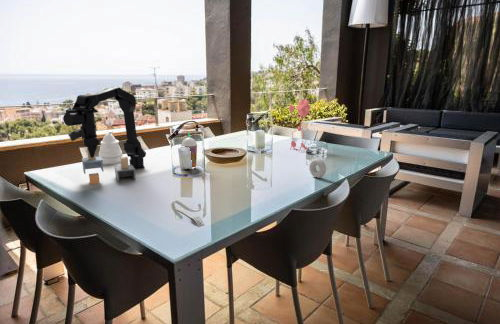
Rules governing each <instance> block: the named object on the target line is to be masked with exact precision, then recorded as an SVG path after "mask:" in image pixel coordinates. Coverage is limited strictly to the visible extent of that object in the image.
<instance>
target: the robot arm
mask: <svg viewBox="0 0 500 324" xmlns="http://www.w3.org/2000/svg"><path fill="white" fill-rule="evenodd" d="M112 98H113V99H114V100H115V101H117V102H118V105H119V108H120V109H121V111H122V112H123V118H124V127H125V132H126V133H125V134H126V140H125V142H123V147H124V148H123V150H124V152H125V153H126V155H127V156H126V157H127V158H129V157H130V159H128V162H129V165H133V167H134V168H135V170H137V169H145V165H144V158H145V157H146V156H147V152H146V151H145V150H144V148H142V145H141V141H139V139H138V136H137V129H136V121H135V119H136V118H135V113H134V112H135V108H136V107H137V100H136V96H135V95H133V94H131V93H130V92H127V91H125V90H123V89H122V88H121V87H119V86H117V87H116V86H112V87H110V88H107V89H104V90H102V91H99V92H98V91H97V92H95V93H89V94H79V95H77V97H76V100H75V102H74V104H73V106H72V108H71V109H66V110H65V113H64V114H63V117H62V120H63V123H64V125H66V126H67V127H72V126H74V127H75V126H80V129H79V128H78V129H76V130H73V131H70V132H68V134H67V135H68V137H69V139H70V140H71V142H74V141H76V140H78V139H80V138H81V140H82V143H83V146H85V147H86V148H88V150H89V153H90V156H91V158H93V157H94V154H95V155H96V151H97V148H98V146H99V144H100V140H99V138H98V135H97V126H96V119H95V118H96V117H95V113H99V111H98V110H97V109H96V108H95V107H97V106H98V105H99V104H100V103H101V102H104V101H106V100H109V99H112Z"/></svg>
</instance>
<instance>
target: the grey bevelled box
mask: <svg viewBox="0 0 500 324" xmlns="http://www.w3.org/2000/svg"><path fill="white" fill-rule="evenodd" d="M120 160H121V162H120V165H119V166H114V173H115V179H116V181H117V182H120V178H125V177H132V178H133V180H137V178H136V177H137V175H136V169H135V168H134V167H133V165H130V164H129V157H128V156H122V157H120Z"/></svg>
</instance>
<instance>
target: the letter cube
mask: <svg viewBox="0 0 500 324" xmlns="http://www.w3.org/2000/svg"><path fill="white" fill-rule="evenodd" d="M88 177H89V183H90V184H89V185H96V184H100V174H99V172H95V173H89V174H88Z"/></svg>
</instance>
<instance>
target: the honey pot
mask: <svg viewBox="0 0 500 324" xmlns="http://www.w3.org/2000/svg"><path fill="white" fill-rule="evenodd" d="M113 133H114V130H108V131H107V133H105V135H104V137H103V138H102V140H101V141H100V147H99V151H98V156H101V158H102V160H103V165H113V164H119V163H121V160H120V157H123V151H122V149H121V147H120V144H119V143H120V140H118V139H116V137H115V136H114V135H113Z"/></svg>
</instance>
